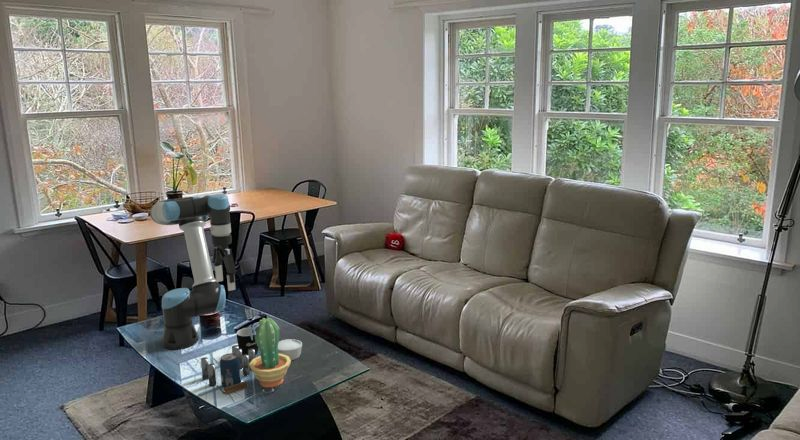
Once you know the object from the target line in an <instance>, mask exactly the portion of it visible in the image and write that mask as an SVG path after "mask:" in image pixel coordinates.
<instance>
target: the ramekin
mask: <svg viewBox="0 0 800 440" xmlns="http://www.w3.org/2000/svg"><path fill="white" fill-rule="evenodd" d="M302 348H303V342H302V341H301V340H299V339H294V338H292V339H291V338H288V339H287V338H286V339H282V340H279V343H278V354H283V355H286V356H289V358H290V360H291V361H293V360H296V359H298V358H300V356H301V353H302Z"/></svg>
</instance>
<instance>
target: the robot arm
mask: <svg viewBox="0 0 800 440" xmlns="http://www.w3.org/2000/svg"><path fill="white" fill-rule="evenodd" d="M230 213H231V212H230V202H229V197H228V195H227V194H222V193H221V194H219V193H218V194H211V195H210V194H207V195H204V196H202V197H200V196H187V197H179V198H171V199H163V200H161V201H158V202H156V203H154V204H153V205H152V206H151V208H150V211H149V216H150V218H151V220H152V221H153V222H154V223H156V224H157V225H158V224H159V225H163V226H173V225H174V226H175V225H178V227H179V229H180V230H181V231H182V232H183V234H184V238H185V239H184V240H185V243H186V247H187V252H188V257H189V258H188V259H189V263H190V267H191V271H192V276H193V281H194V283H193V284H192V285H191V290H190V289H189V288H188V287H182V288H181V287H180V288H174V289H171V290H169V291H167V292H165V293H164V294H163V296H162V298H161V309H162V316H163V318H162V319H163V323H164V324H163V327H164V328H163V333H162V336H161V345H162V347H163V348H164V349H167V350H182V349H186V348H190V347H192V346H194V345H195V344H198V341H199V335H198V332H197V330H196V328H195V325H194V324H193V323H194V322H193V318H195V317H201V316H205V315H210V314H216V313H219V312H221V311H223V310H224V309H225V306H226V299H227V298H226V297H227V296H226V290H225V289H226V288H225V286H224V284H220V283H219V282H223V281H224V274H223V264H224V267H225V270H226V272H227V273H226V279H227V291H228V292H230V291H235V290H236V279H235V278H236V277H235V275H236V274H237V269H236V265H235V260H234V256H233V252H232V251H233V250H232V248H229V245H231V244H232V243H233V241H232V240H233V239H232V238H233V237H232V234H231V233H232V227H231V226H232V225H231V224H232V223H231V215H230ZM208 220H209V223H210V227H209V230H210V232H211V233H210V234H211V237H210V238H211V244H212V245H213V252H212V260H211V258H210V253H209V249H208V248H209V247H208V244H207V239H206V235H205V229H204V227H205V226H206V224H207V222H206V221H208ZM212 264H213V266H214V271H213V266H212ZM214 274H215V275H214Z"/></svg>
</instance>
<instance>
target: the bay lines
mask: <svg viewBox="0 0 800 440" xmlns="http://www.w3.org/2000/svg"><path fill="white" fill-rule="evenodd" d="M216 388H217V389H218V390H219V392H221V393H222V394H223V395H225V394H224V390H223V389H222V388H221V387H220V386H219V385H218V384H216Z"/></svg>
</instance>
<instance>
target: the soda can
mask: <svg viewBox="0 0 800 440" xmlns="http://www.w3.org/2000/svg"><path fill="white" fill-rule="evenodd" d="M219 371H220V382H221V387H222V388H223V389H224V388H225V387H228V386H231V385H235V384H238V383H241V380H242V378H241V369H240V367H239V359H238V357H237V355H236V354H233V353H232V352H231V353H225V354H223V355H221V357H220V359H219Z"/></svg>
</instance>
